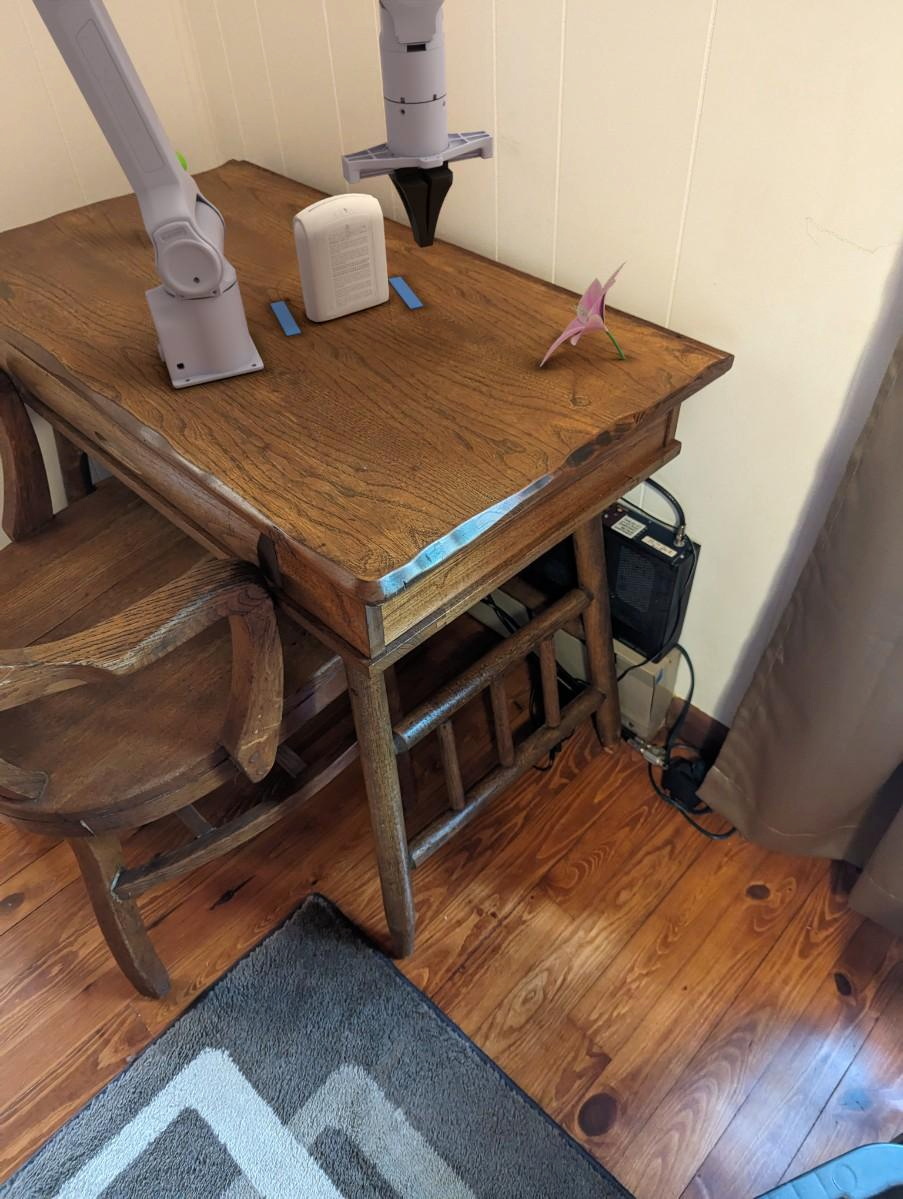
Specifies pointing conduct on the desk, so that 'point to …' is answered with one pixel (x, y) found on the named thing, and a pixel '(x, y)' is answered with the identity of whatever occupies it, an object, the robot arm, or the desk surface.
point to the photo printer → (341, 255)
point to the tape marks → (292, 328)
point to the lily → (589, 314)
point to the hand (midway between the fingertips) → (423, 242)
